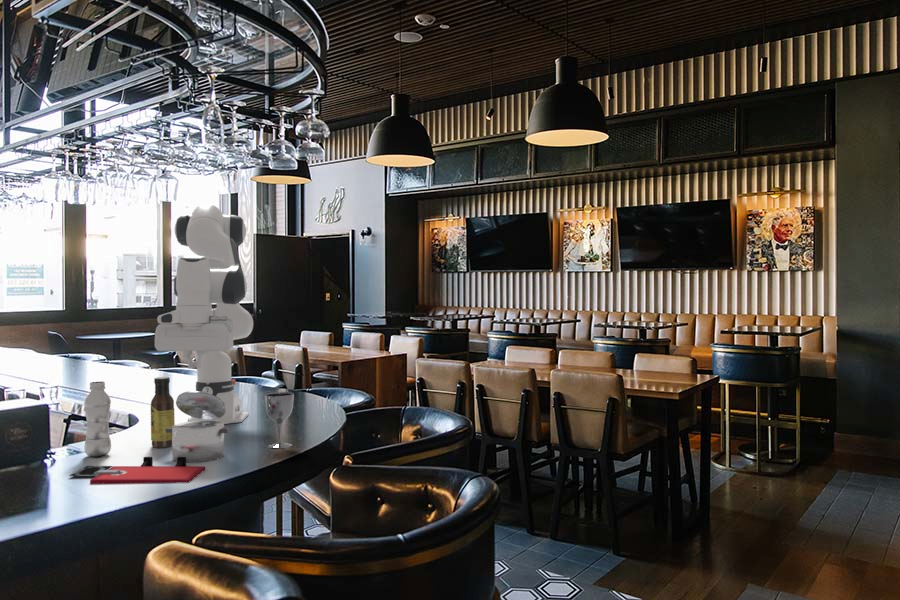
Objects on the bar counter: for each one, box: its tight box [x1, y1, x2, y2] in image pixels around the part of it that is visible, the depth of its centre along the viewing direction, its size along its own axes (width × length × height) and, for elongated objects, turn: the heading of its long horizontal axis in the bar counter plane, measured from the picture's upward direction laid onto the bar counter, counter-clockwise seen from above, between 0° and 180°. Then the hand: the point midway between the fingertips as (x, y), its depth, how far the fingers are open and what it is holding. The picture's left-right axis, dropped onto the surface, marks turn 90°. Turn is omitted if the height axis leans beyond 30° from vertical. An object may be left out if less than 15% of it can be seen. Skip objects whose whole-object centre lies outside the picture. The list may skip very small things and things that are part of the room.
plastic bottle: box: [83, 381, 112, 457], centre depth 178 cm, size 6×7×20 cm
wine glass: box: [264, 391, 295, 449], centre depth 188 cm, size 8×8×15 cm
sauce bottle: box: [150, 376, 176, 449], centre depth 189 cm, size 6×6×20 cm
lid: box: [175, 390, 226, 420], centre depth 178 cm, size 13×13×3 cm
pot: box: [166, 421, 232, 464], centre depth 177 cm, size 14×17×8 cm
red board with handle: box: [68, 456, 206, 485], centre depth 159 cm, size 30×3×15 cm
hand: (194, 368), depth 174 cm, fingers closed
